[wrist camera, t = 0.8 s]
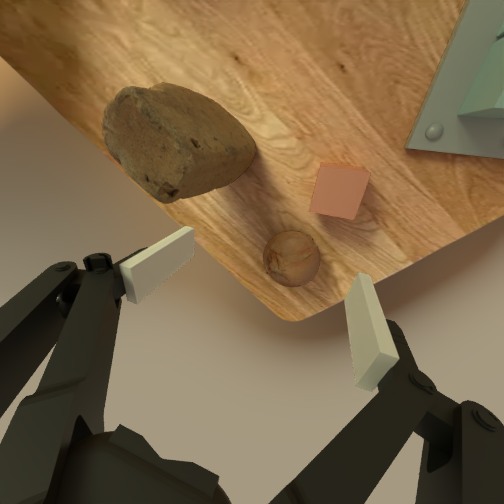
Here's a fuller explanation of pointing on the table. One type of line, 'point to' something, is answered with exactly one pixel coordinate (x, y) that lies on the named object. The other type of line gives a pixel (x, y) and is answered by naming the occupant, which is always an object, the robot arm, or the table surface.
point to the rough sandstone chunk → (175, 141)
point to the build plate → (467, 88)
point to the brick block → (339, 190)
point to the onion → (291, 258)
